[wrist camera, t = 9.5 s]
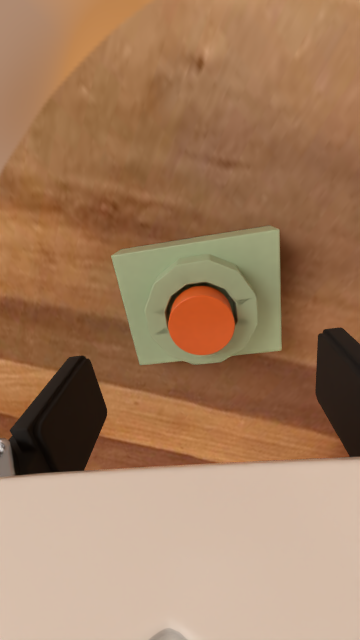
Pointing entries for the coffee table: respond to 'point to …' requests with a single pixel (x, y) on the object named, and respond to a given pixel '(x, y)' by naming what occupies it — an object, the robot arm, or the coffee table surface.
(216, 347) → the button
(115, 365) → the coffee table surface
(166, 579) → the robot arm
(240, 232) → the button box
